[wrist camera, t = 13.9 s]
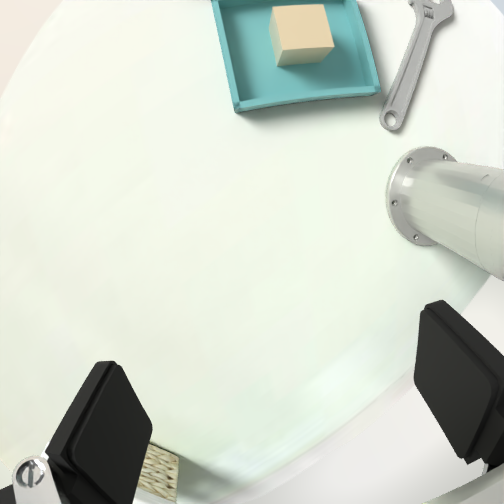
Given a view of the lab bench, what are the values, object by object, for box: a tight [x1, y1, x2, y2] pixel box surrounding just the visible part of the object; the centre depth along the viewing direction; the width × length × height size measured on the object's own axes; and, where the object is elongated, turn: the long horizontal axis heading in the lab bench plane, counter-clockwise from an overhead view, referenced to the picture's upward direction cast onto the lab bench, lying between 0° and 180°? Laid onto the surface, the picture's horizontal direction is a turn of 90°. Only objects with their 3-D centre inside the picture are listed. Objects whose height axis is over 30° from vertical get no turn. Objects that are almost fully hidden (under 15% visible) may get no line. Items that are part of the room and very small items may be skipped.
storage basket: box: [41, 441, 179, 504], centre depth 42 cm, size 24×16×15 cm
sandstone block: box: [269, 4, 334, 66], centre depth 26 cm, size 5×5×6 cm
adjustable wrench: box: [379, 0, 453, 130], centre depth 29 cm, size 25×6×2 cm, turn 153°
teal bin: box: [211, 0, 381, 113], centre depth 28 cm, size 16×14×3 cm
